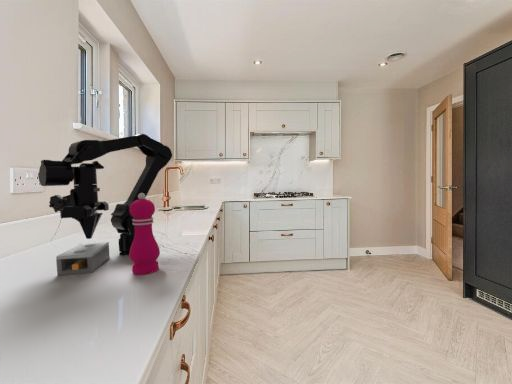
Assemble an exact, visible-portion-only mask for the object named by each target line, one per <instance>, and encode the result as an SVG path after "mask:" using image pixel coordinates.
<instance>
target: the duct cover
mask: <svg viewBox="0 0 512 384" xmlns="http://www.w3.org/2000/svg"><path fill="white" fill-rule="evenodd" d="M108 245H109V241H105V242H103V241H102V242H92V243H91V242H89V243H78V244H77V245H74V246H73V247H71V248H70V249H67V250H65V251H63V252H61V253H60V254H57V255H56V256H55V260H57V259H71V258H85V257H92V256H94V255H95V254H96V253H98V252H99V251H101V250H102V249H103V248H105V247H106V246H108ZM109 246H110V245H109Z"/></svg>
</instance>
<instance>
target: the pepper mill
mask: <svg viewBox="0 0 512 384" xmlns="http://www.w3.org/2000/svg"><path fill="white" fill-rule="evenodd" d="M138 198H139V200H136V201H134V202H133V203H132V204H131V205H130V209H129V211H130V214H131V215H132V216H133V218H134V219H133V220H132V221H133V223H132V224H133V225H134V227H135V236H134V240H133V243H132V245H131V248H130V254H128V255H129V256H128V258H129V260H130V261H131V262H132V263H134V264H132V265H131V267H132V268H131V269H132V271H131V272H132V274H134V275H138V276H139V275H142V276H143V275H150V274H152V273H155V272H157V271H158V270H159V261H157V260H158V259H159V258H160V253H161V251H160V246H159V245H158V243H157V240H156V239H155V236H154V232H153V224H154V217H153V216H154V214H155V211H156V207H155V204H154V202H153V201H151V200H150V199H146V198H145V194H144V193H140V194H139V195H138Z"/></svg>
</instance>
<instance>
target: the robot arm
mask: <svg viewBox="0 0 512 384" xmlns="http://www.w3.org/2000/svg"><path fill="white" fill-rule="evenodd" d="M135 147H136V148H138V150H139V151H140V152H141V153H142V154H143V155H145V156H146V157H145V167H144V169H143V170H142V172H141V174H140V176H139V178H138V179H137V181H136V183H135V185H134V186H133V189H132V190H131V192H130V194H129V196H128V197H127V199H126V201H124V203H117V204H116V206H115V208H114V211H113V212H112V213H110V216H111V218H110V222H111V225H112V227H113V228H115V230H116V231H117V233H118V234H119V239H118V252H119V255H129V254H130V248H131V245H132V243H133V240H134V236H135V227H134V225H133V224H132V223H133V221H132V220H133V219H134V218H133V216H132V215H131V214H130V211H129V209H130V205H131V204H132V203H133V202H134V201H136V200H139V198H138V195H139V194H140V193H144V194H145V199H146V197H147V195H148V194H149V191H150V189H151V187H152V186H153V183H154V182H155V180H156V178H157V176H158V174H159V172H160V171H161V170H162V169H163V168H164V167H166V166H167V165H168V164H169V163H170V161H171V160H172V157H173V153H172V150H171V148H170V147H169V146H168V145H164V144H163V143H162V142H160V141H158V140H156V139H154V138H151V137H150V136H148V135H147V134H146V133H139V134H135V135H132V136H126V137H121V138H113V139H106V140H103V139H102V140H100V139H83V140H79V141H76V142H73V143H71V144H70V146H69V147H68V152H67V154H66V155H65V156H64V157H63V159H62V160H51V159H41V160H40V166H39V169H38V173H37V177H38V182H39V185H40V186H41V187H53V186H54V187H58V186H59V187H60V186H61V187H62V186H69V185H70V183H71V182H73V188H71V189H70V190H69V194H68V195H64V196H61V195H59V194H55V195H53V196H50V197H49V205H48V207H49V208H52V209H53V211H54V212H55V213H58V212H59V213H60V215H59V216H60V219H71V218H72V219H74V220H76V221H77V222H79V225H80V227H81V228H82V231H83V233H84V235H85V238H86V240H87V239H88V240H90V239H92V238H93V236H94V233H95V231H96V229H97V226H98V223H99V221H100V220H101V217H102V215H103V212H98V211H109V209H110V207H109V203H108V202H107V201H99V193H98V192H100V191H101V190H100V189H101V188H100V187H98V179H97V170H103V169H105V166H104V165H102V164H101V163H100V162H99V161H98V160H96V159H99V158H101V157H104V156H105V155H106V154H109V153H112V152H117V151H122V150H126V149H133V148H135ZM93 160H94V161H93ZM87 161H88V162H89V161H92V162H91V163H87ZM85 162H86V163H85ZM78 164H79V166H72V165H78Z"/></svg>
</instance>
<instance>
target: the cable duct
mask: <svg viewBox="0 0 512 384" xmlns="http://www.w3.org/2000/svg"><path fill="white" fill-rule="evenodd" d="M110 258H111V257H110V245H108V246H106V247H105V248H103V249H102V250H101V251H99V252H98V253H96V254H95V255H94V256H92V257H85V258H71V259H57V260H56V259H55V260H56V273H57V276H67V275H77V274H88V273H93V272H95V271H96V270H97V269H98V268H99V267H101V265H103V264H104V263H106V262H107V260H108V259H110Z"/></svg>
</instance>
